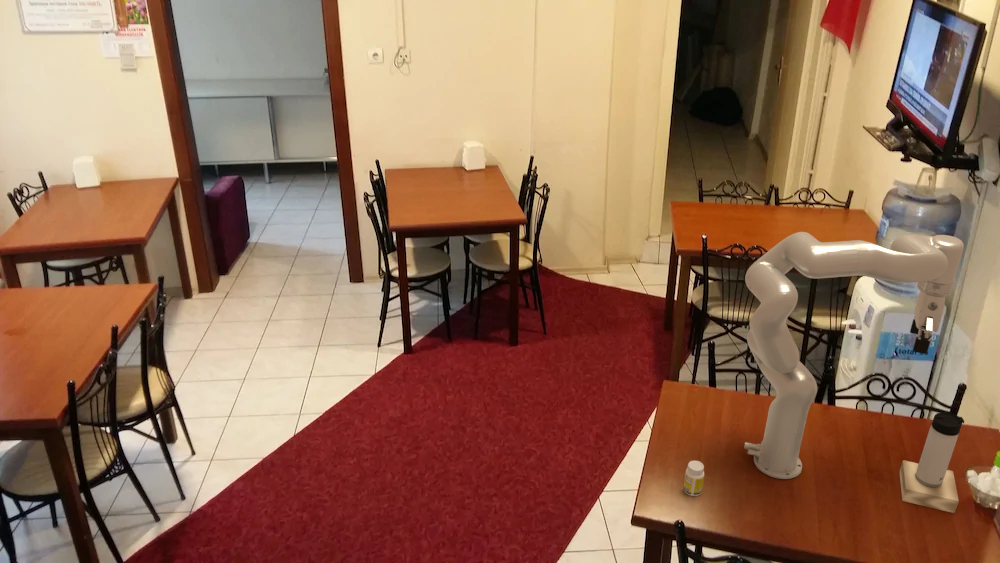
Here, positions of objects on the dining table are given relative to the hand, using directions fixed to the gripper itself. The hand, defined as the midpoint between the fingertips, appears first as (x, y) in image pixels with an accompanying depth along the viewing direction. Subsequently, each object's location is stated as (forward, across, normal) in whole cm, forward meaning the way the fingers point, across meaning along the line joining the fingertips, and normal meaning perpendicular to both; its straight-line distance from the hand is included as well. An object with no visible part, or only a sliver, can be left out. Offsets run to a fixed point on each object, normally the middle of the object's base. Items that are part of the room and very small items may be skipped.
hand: (918, 342), depth 197 cm
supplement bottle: (+36, -35, +48) cm, 70 cm away
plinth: (+36, -13, -9) cm, 40 cm away
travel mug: (+32, -13, -9) cm, 36 cm away
